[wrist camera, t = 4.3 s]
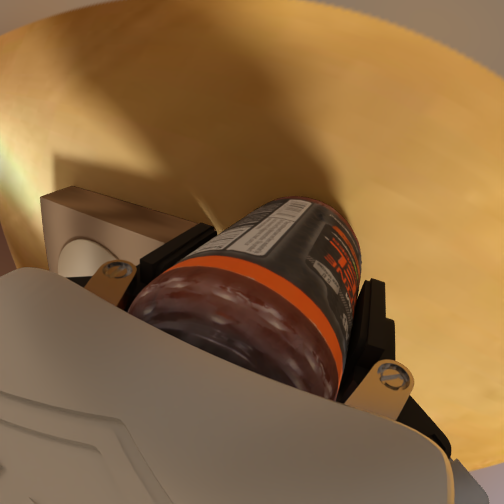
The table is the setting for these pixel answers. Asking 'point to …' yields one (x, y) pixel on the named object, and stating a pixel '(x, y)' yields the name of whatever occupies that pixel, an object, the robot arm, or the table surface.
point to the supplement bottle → (267, 294)
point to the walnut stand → (100, 230)
